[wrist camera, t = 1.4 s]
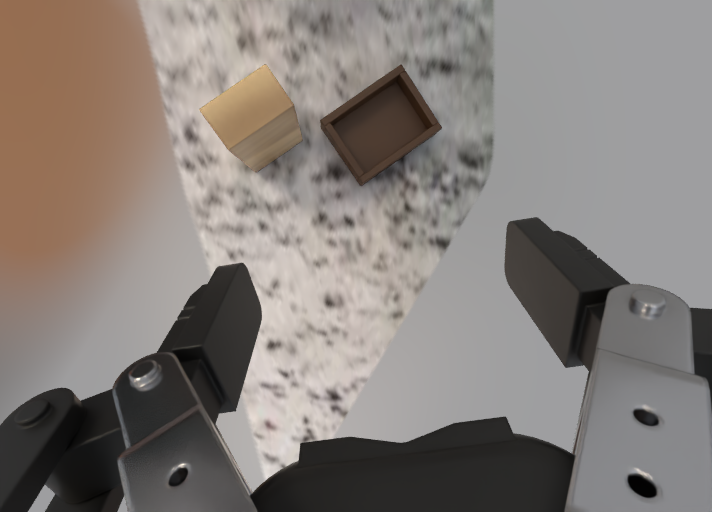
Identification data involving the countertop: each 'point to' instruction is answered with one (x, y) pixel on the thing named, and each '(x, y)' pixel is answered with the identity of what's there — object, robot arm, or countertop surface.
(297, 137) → the block
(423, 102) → the frame
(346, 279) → the countertop surface
